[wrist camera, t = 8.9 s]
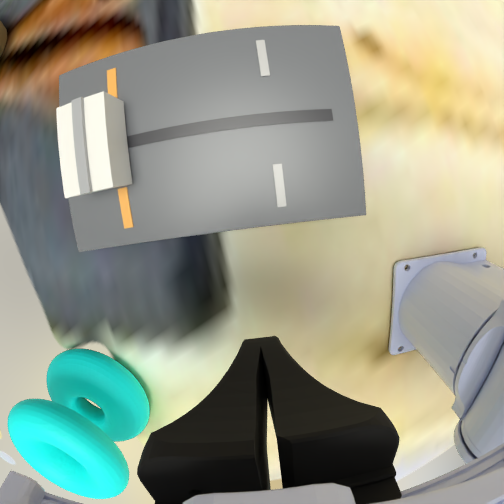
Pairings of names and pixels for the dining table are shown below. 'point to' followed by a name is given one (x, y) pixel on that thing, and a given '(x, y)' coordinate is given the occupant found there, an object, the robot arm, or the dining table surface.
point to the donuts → (82, 423)
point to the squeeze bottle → (2, 37)
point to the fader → (93, 144)
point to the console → (225, 135)
